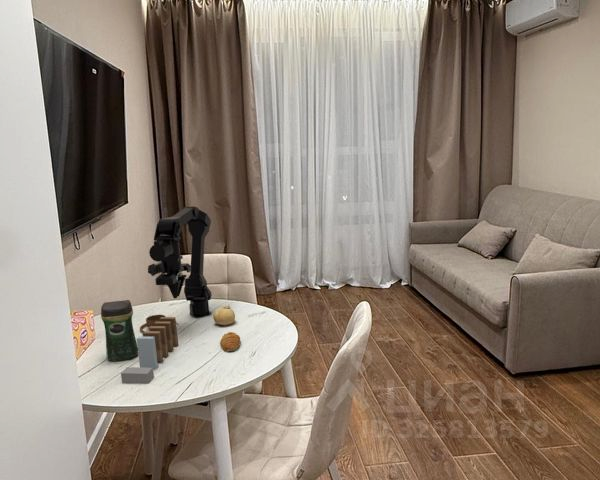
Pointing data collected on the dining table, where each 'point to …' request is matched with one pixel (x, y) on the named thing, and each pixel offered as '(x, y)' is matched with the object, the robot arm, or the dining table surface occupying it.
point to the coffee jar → (119, 330)
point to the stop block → (137, 375)
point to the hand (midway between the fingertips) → (176, 297)
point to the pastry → (230, 341)
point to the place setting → (151, 321)
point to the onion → (224, 316)
